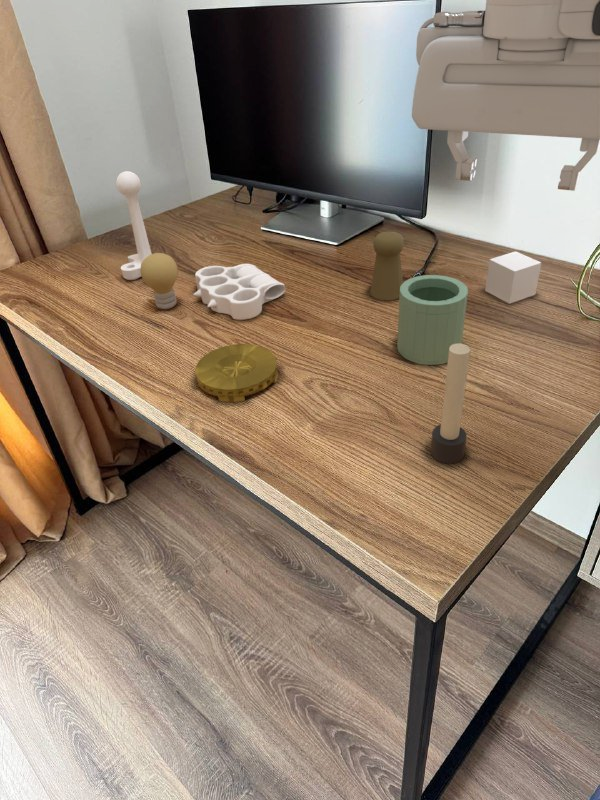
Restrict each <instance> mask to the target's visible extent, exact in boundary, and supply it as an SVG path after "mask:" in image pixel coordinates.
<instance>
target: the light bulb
mask: <svg viewBox="0 0 600 800" xmlns="http://www.w3.org/2000/svg"><path fill="white" fill-rule="evenodd" d="M140 271H141V276H142V277H141V279H142V280H143V282H144V284H146V286H148V287H149V288H150V289H151V290H153V296H154V301H155V305H156V307H157V308H158V309H161V310H169V309H172V308H173V307H175V306H176V305H177V303H178V301H177V297H176V293H175V292H176V291H175V288H174V285H175V283H176V281H177V279H178V276H179V269H178V265H177V263H176V261H175V260H174V258H173V257H172V256H170V255H169V254H166V253H163V252H154V253H152V254H151V255H149V256H147V257H146V258H145V259H144V260H143V261H142V263H141V268H140Z"/></svg>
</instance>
